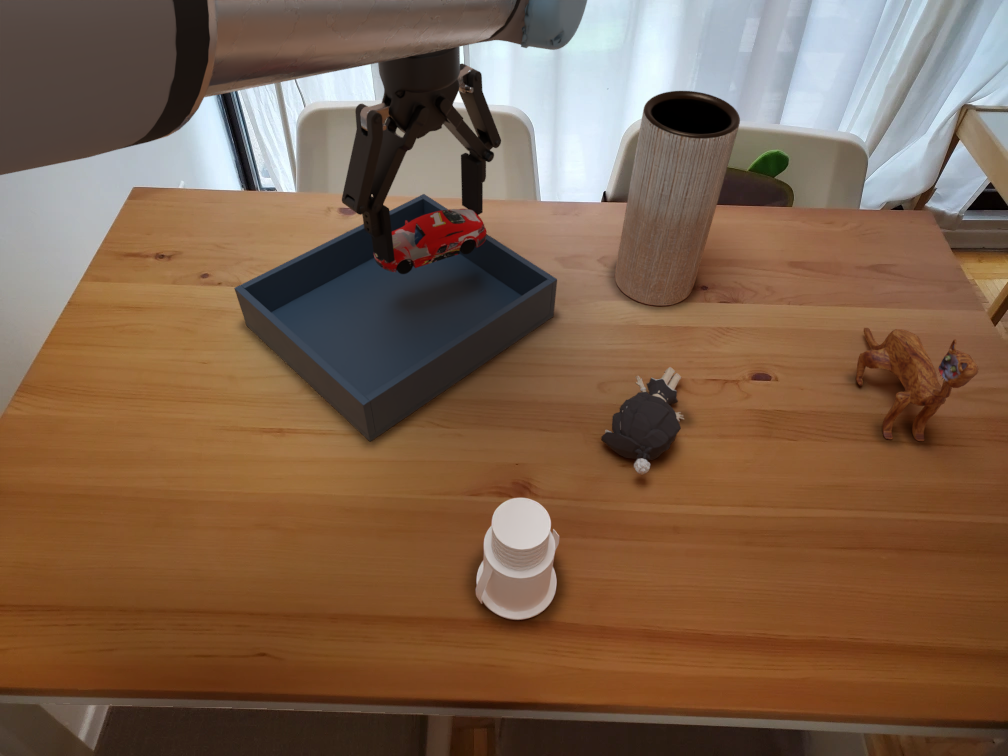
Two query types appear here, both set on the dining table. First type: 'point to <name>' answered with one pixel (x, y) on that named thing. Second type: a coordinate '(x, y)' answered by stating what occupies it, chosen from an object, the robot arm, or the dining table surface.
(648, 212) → the planter
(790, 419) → the dining table surface
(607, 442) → the figurine
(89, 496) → the dining table surface
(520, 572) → the downlight
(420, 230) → the race car
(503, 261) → the tote
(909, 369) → the cat figurine
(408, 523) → the dining table surface
